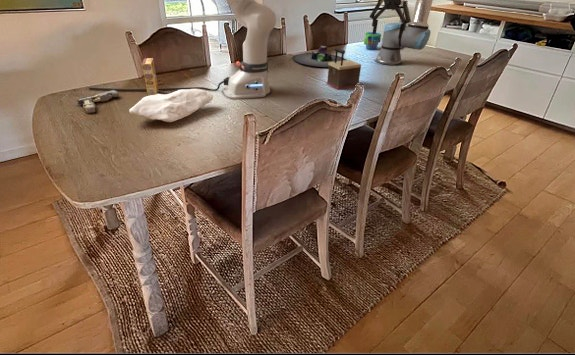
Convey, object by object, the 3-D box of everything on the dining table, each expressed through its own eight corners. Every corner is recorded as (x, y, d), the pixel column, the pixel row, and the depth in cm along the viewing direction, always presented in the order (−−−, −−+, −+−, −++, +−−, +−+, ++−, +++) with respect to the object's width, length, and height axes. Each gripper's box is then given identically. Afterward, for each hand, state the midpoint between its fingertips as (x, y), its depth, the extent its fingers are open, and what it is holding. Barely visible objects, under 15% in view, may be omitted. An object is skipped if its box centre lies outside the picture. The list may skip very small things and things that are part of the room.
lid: (339, 69, 177) (341, 51, 173) (328, 64, 184) (329, 47, 180) (360, 67, 183) (363, 49, 178) (349, 62, 190) (351, 44, 185)
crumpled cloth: (117, 110, 146) (113, 90, 140) (195, 92, 166) (194, 73, 160) (143, 139, 134) (140, 118, 128) (223, 116, 154) (224, 96, 148)
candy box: (157, 97, 164) (152, 63, 155) (147, 98, 163) (141, 63, 155) (158, 91, 171) (153, 57, 163) (149, 91, 170) (143, 58, 162)
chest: (337, 89, 183) (339, 69, 177) (327, 83, 190) (328, 64, 184) (358, 86, 188) (360, 67, 183) (347, 80, 195) (349, 62, 190)
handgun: (128, 97, 156) (111, 87, 164) (86, 107, 144) (70, 97, 152) (129, 103, 157) (113, 94, 165) (88, 114, 146) (72, 103, 154)
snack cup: (373, 45, 267) (376, 31, 261) (384, 49, 259) (386, 34, 254) (358, 48, 259) (360, 32, 254) (368, 51, 252) (370, 35, 246)
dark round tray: (359, 62, 224) (361, 47, 219) (315, 70, 207) (315, 53, 202) (323, 53, 249) (324, 39, 244) (281, 59, 231) (281, 44, 227)
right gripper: (367, -15, 172) (360, 33, 184) (418, -10, 160) (408, 41, 172) (373, -15, 178) (367, 30, 189) (424, -11, 166) (413, 38, 177)
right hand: (386, 35), depth 180 cm, fingers open, 13 cm apart
